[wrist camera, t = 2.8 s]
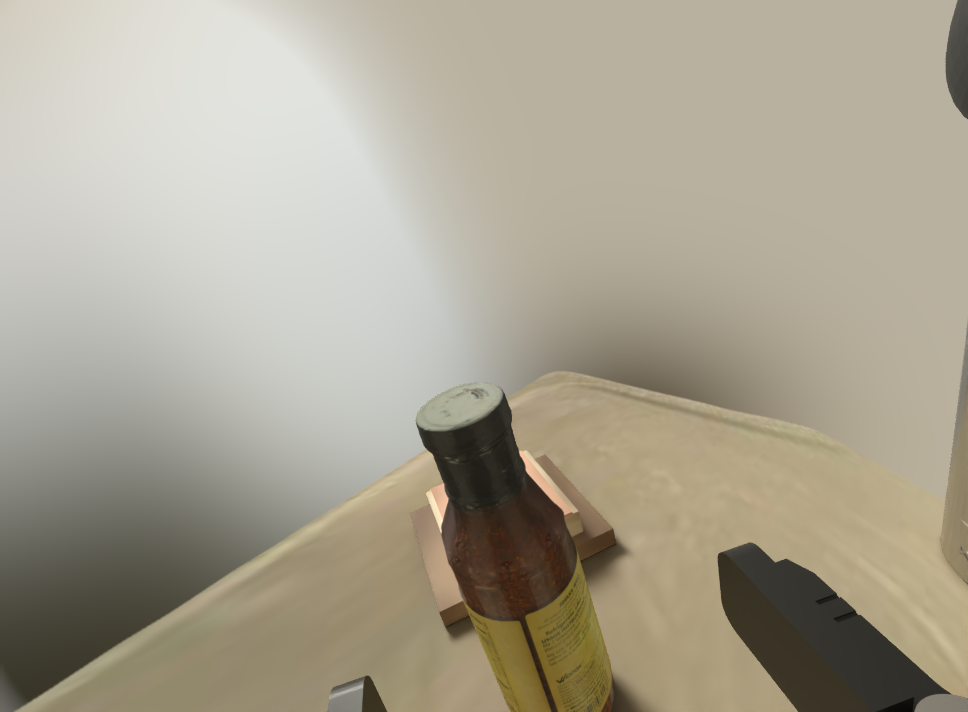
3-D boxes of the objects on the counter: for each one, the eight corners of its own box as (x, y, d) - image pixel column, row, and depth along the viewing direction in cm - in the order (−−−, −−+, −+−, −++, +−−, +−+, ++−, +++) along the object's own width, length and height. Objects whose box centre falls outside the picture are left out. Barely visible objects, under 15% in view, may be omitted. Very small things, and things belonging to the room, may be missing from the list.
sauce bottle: (606, 639, 30) (540, 354, 23) (629, 752, 25) (551, 421, 17) (504, 652, 31) (411, 382, 24) (503, 765, 26) (380, 454, 18)
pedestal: (548, 467, 48) (540, 435, 47) (616, 543, 37) (608, 505, 36) (414, 525, 45) (402, 493, 44) (445, 627, 34) (430, 589, 33)
